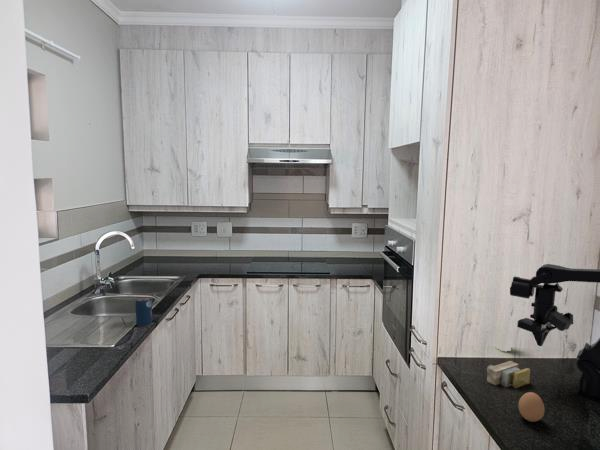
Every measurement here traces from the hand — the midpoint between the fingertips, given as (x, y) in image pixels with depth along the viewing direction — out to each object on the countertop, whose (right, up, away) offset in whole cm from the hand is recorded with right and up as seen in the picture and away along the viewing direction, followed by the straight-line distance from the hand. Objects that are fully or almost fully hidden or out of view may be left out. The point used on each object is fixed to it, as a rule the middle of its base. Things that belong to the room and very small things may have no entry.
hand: (539, 345), depth 139 cm
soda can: (-153, -4, +45) cm, 159 cm away
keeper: (-8, -12, -3) cm, 15 cm away
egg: (-16, -15, -22) cm, 31 cm away
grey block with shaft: (-13, -12, +2) cm, 18 cm away
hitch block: (-12, -12, +1) cm, 17 cm away
